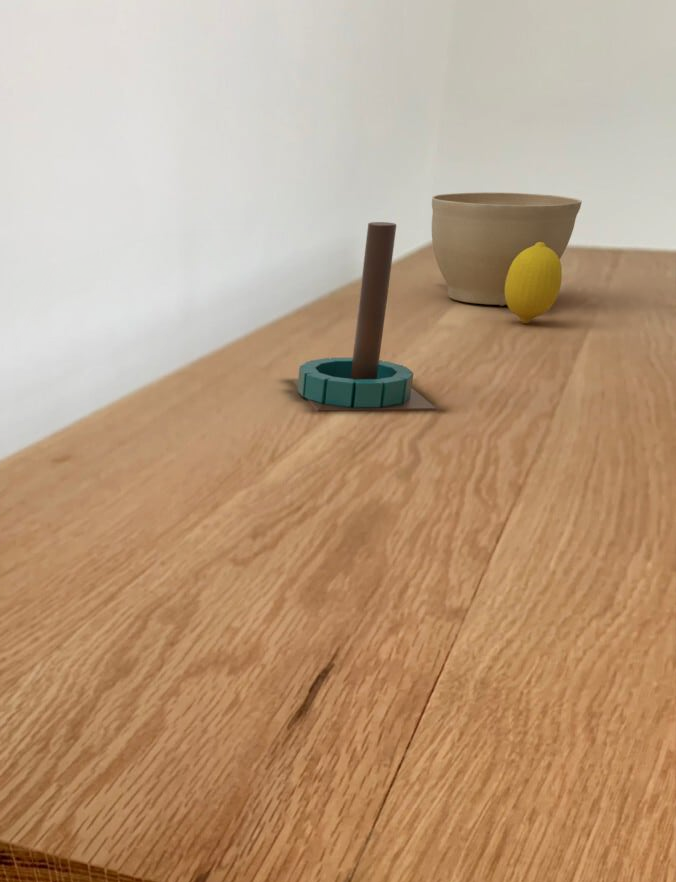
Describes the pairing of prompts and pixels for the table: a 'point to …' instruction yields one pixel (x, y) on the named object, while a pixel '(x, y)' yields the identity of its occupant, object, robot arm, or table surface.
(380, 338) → the peg stand
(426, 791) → the table surface
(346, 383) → the ring
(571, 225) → the planter bowl
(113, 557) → the table surface
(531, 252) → the lemon
